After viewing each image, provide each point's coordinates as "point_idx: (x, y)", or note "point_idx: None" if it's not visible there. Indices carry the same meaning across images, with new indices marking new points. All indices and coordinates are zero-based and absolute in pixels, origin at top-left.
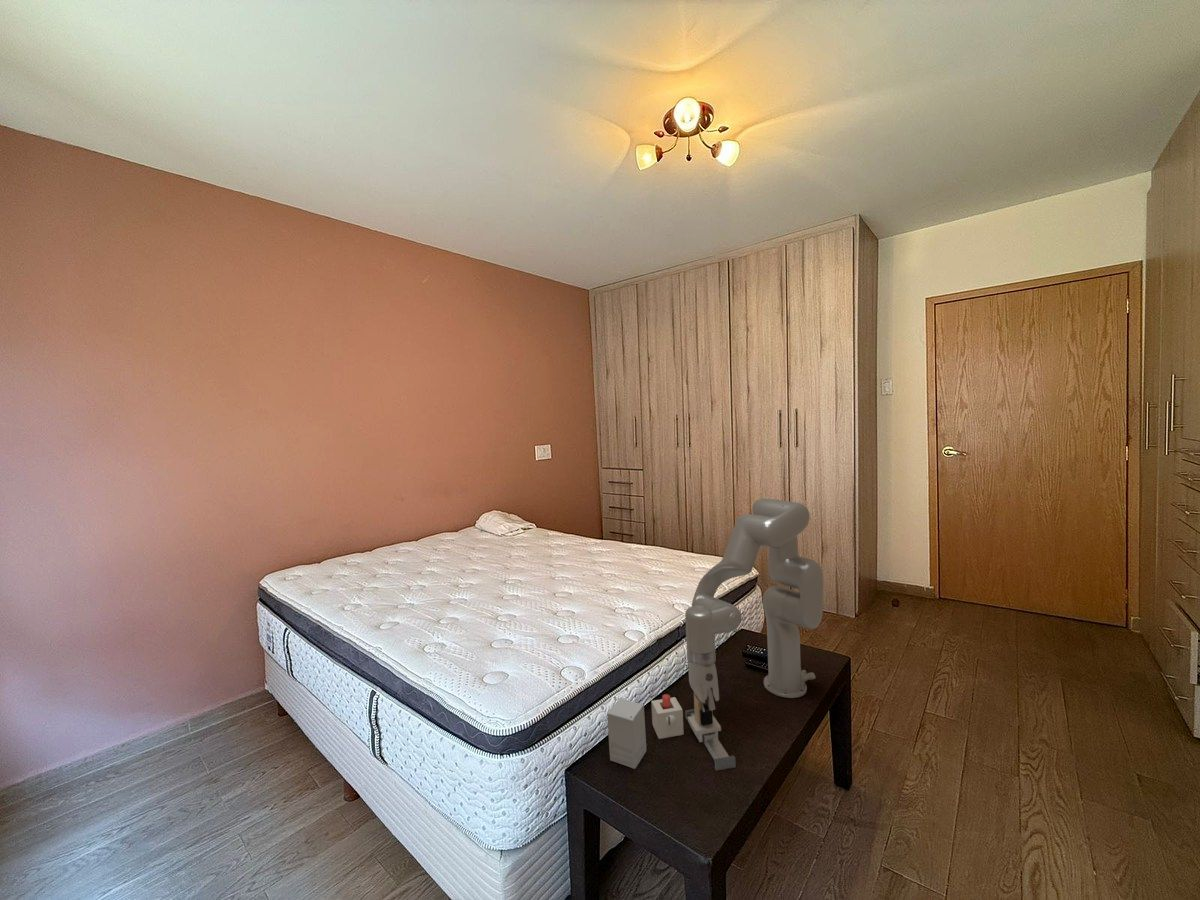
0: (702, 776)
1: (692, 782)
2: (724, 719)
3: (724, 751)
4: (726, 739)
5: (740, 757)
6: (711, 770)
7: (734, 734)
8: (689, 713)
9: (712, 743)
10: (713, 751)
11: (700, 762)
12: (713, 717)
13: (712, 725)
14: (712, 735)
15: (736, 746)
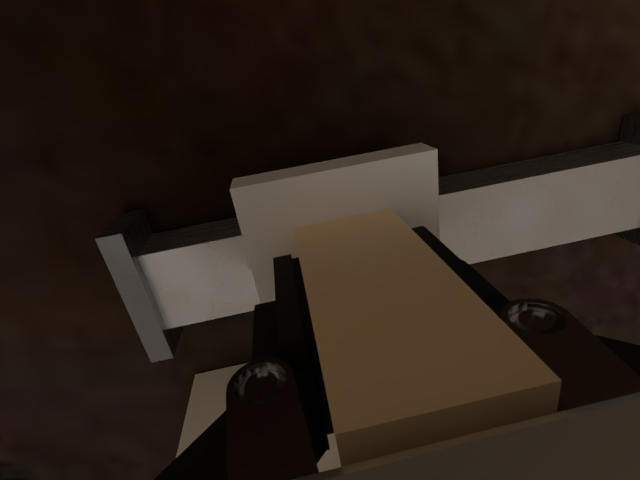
0: (618, 293)
1: (628, 335)
2: (158, 31)
3: (606, 171)
4: (404, 94)
5: (585, 48)
6: (604, 248)
7: (361, 5)
8: (169, 328)
9: (512, 231)
10: (578, 240)
11: (539, 289)
12: (304, 186)
13: (408, 217)
14: (439, 214)
15: (486, 39)
